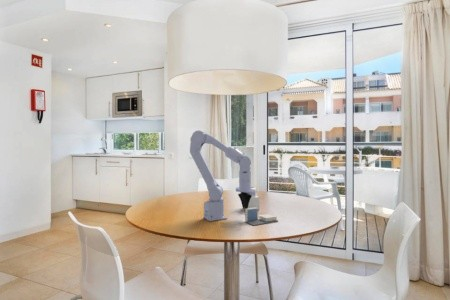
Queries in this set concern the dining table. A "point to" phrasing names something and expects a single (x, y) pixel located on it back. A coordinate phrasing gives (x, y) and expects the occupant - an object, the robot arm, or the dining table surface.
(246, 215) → the tile near
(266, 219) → the tile far
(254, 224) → the mat
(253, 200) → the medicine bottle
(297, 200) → the dining table surface
